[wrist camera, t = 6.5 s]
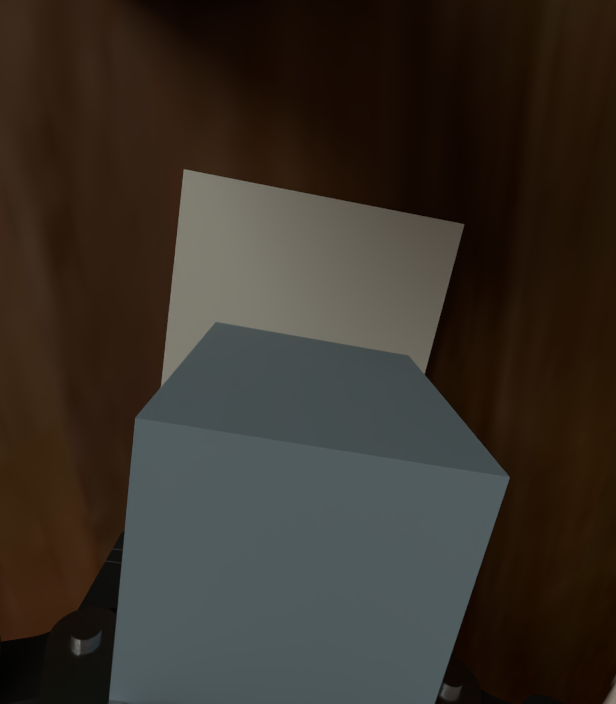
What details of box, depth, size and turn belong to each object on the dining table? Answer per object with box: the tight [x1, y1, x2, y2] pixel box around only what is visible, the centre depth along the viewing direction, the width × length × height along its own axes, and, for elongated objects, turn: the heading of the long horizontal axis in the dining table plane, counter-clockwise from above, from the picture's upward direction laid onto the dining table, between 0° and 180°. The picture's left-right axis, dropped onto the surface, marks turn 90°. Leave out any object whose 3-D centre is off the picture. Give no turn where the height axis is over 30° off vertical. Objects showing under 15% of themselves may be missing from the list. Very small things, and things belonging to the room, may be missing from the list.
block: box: [109, 322, 510, 704], centre depth 11 cm, size 12×5×6 cm, turn 170°
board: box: [161, 170, 464, 387], centre depth 18 cm, size 22×10×3 cm, turn 170°
